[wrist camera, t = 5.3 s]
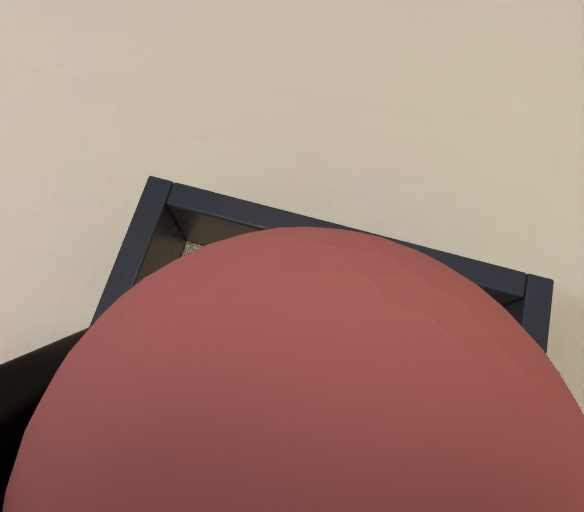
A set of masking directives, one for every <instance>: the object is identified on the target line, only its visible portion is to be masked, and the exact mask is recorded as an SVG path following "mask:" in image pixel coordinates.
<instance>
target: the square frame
mask: <svg viewBox="0 0 584 512" xmlns="http://www.w3.org/2000/svg"><path fill="white" fill-rule="evenodd" d="M284 227H319V228H333V229H343V230H349V231H355V232H360V233H365V234H369V235H374V236H378V237H383V238H385V239H388V240H391V241H393V242H396V243H399V244H401V245H404V246H406V247H409V248H412V249H414V250H417V251H419V252H421V253H424V254H426V255H428V256H430V257H432V258H433V259H435V260H437V261H439V262H441V263H443V264H445V265H446V266H448V267H450V268H451V269H453V270H454V271H456V272H458V273H459V274H461V275H462V276H464V277H466V278H467V279H469V280H470V281H472V282H474V283H475V284H477V285H478V286H479V287H480V288H481V289H483V290H484V291H485V292H486V293H487V294H488V295H490V296H491V297H492V298H493V299H494V300H496V301H497V302H498V303H499V304H500V305H501V306H502V307H503V308H505V309H506V310H507V311H508V312H509V313H510V314H511V315H512V317H513V318H514V319H515V320H516V321H517V322H518V323H519V324H520V325H521V326H522V327H523V329H524V330H525V331H526V332H527V333H528V334H529V335H530V336H531V337H532V338H533V339H534V340H535V342H536V343H537V344H538V345H539V346H540V347H541V348H542V349H543V351H544V352H545V354H546V352H547V342H548V332H549V323H550V313H551V303H552V293H553V283H554V281H553V280H552V279H548V278H544V277H540V276H536V275H533V274H526V273H524V272H520V271H516V270H512V269H508V268H505V267H501V266H497V265H493V264H489V263H485V262H481V261H478V260H474V259H470V258H466V257H462V256H458V255H454V254H450V253H447V252H443V251H439V250H435V249H431V248H427V247H423V246H420V245H416V244H412V243H408V242H404V241H400V240H396V239H392V238H389V237H385V236H381V235H377V234H373V233H369V232H365V231H361V230H358V229H354V228H350V227H346V226H342V225H338V224H334V223H331V222H327V221H323V220H319V219H315V218H311V217H307V216H303V215H300V214H296V213H292V212H288V211H284V210H280V209H276V208H273V207H269V206H265V205H261V204H257V203H253V202H249V201H245V200H242V199H238V198H234V197H230V196H226V195H222V194H218V193H214V192H211V191H207V190H203V189H199V188H195V187H191V186H187V185H184V184H180V183H173V182H172V181H169V180H165V179H161V178H157V177H153V176H149V178H148V180H147V183H146V185H145V188H144V190H143V193H142V195H141V198H140V200H139V203H138V206H137V208H136V211H135V213H134V216H133V218H132V221H131V223H130V226H129V228H128V231H127V233H126V236H125V238H124V241H123V243H122V246H121V248H120V251H119V253H118V256H117V259H116V261H115V264H114V266H113V269H112V271H111V274H110V276H109V279H108V281H107V284H106V286H105V289H104V291H103V294H102V296H101V299H100V301H99V304H98V306H97V309H96V312H95V314H94V317H93V319H92V322H91V324H90V327H91V326H92V325H93V324H94V323H95V322H96V320H97V319H98V318H99V317H100V316H101V315H102V314H103V313H104V312H105V311H106V310H107V309H108V308H109V307H110V306H111V305H112V304H113V303H114V302H115V301H116V300H118V299H119V298H120V297H121V296H122V295H123V294H125V293H126V292H127V291H128V290H130V289H131V288H132V287H134V286H135V285H136V284H137V283H139V282H140V281H141V280H143V279H144V278H145V277H147V276H149V275H150V274H152V273H154V272H156V271H157V270H159V269H161V268H162V267H164V266H166V265H168V264H169V263H171V262H173V261H175V260H176V259H178V258H180V256H181V254H182V251H183V248H184V245H185V242H186V240H188V241H190V242H194V243H198V244H201V245H208V244H211V243H215V242H218V241H221V240H225V239H228V238H232V237H235V236H239V235H242V234H246V233H250V232H256V231H262V230H268V229H274V228H284Z"/></svg>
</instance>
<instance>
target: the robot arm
mask: <svg viewBox="0 0 584 512" xmlns="http://www.w3.org/2000/svg"><path fill="white" fill-rule="evenodd" d="M89 329H90V327H89V328H87V329H84V330H82V331H80V332H77V333H75V334H72V335H70V336H68V337H65V338H63V339H61V340H58V341H56V342H53V343H51V344H49V345H46V346H44V347H42V348H39V349H37V350H34V351H32V352H30V353H27V354H25V355H23V356H20V357H18V358H15V359H13V360H11V361H8V362H6V363H4V364H1V365H0V512H2V510H3V504H4V498H5V492H6V489H7V486H8V483H9V479H10V476H11V473H12V470H13V467H14V464H15V460H16V457H17V454H18V451H19V448H20V445H21V441H22V438H23V435H24V432H25V430H26V428H27V426H28V424H29V422H30V420H31V418H32V416H33V414H34V412H35V410H36V408H37V406H38V404H39V402H40V400H41V399H42V397H43V395H44V393H45V391H46V390H47V388H48V386H49V384H50V382H51V381H52V379H53V377H54V375H55V373H56V372H57V370H58V369H59V367H60V365H61V364H62V362H63V361H64V359H65V358H66V356H67V354H68V353H69V352H70V351H71V349H72V348H73V347H74V346H75V345H76V344H77V342H78V341H79V340H80V339H81V338H82V337H83V336H84V334H85V333H86V332H87V331H88V330H89Z"/></svg>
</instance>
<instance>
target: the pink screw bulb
mask: <svg viewBox="0 0 584 512" xmlns="http://www.w3.org/2000/svg"><path fill="white" fill-rule="evenodd" d="M2 512H584V416H583V413H582V411H581V409H580V407H579V406H578V404H577V402H576V401H575V399H574V397H573V396H572V394H571V392H570V391H569V389H568V387H567V386H566V384H565V382H564V380H563V379H562V377H561V375H560V374H559V372H558V371H557V369H556V368H555V367H554V365H553V364H552V362H551V361H550V359H549V358H548V356H547V355H546V354H545V352H544V351H543V349H542V348H541V347H540V346H539V345H538V344H537V343H536V342H535V340H534V339H533V338H532V337H531V336H530V335H529V334H528V333H527V332H526V331H525V330H524V329H523V327H522V326H521V325H520V324H519V323H518V322H517V321H516V320H515V319H514V318H513V317H512V315H511V314H510V313H509V312H508V311H507V310H506V309H505V308H503V307H502V306H501V305H500V304H499V303H498V302H497V301H496V300H494V299H493V298H492V297H491V296H490V295H488V294H487V293H486V292H485V291H484V290H483V289H481V288H480V287H479V286H478V285H477V284H475V283H474V282H472V281H470V280H469V279H467V278H466V277H464V276H462V275H461V274H459V273H458V272H456V271H454V270H453V269H451V268H450V267H448V266H446V265H445V264H443V263H441V262H439V261H437V260H435V259H433V258H432V257H430V256H428V255H426V254H424V253H421V252H419V251H417V250H414V249H412V248H409V247H406V246H404V245H401V244H399V243H396V242H393V241H391V240H388V239H385V238H383V237H378V236H374V235H369V234H365V233H360V232H355V231H349V230H343V229H333V228H319V227H284V228H274V229H268V230H262V231H256V232H250V233H246V234H242V235H239V236H235V237H232V238H228V239H225V240H221V241H218V242H215V243H211V244H208V245H205V246H203V247H201V248H199V249H197V250H195V251H193V252H191V253H189V254H187V255H185V256H183V257H180V258H178V259H176V260H175V261H173V262H171V263H169V264H168V265H166V266H164V267H162V268H161V269H159V270H157V271H156V272H154V273H152V274H150V275H149V276H147V277H145V278H144V279H143V280H141V281H140V282H139V283H137V284H136V285H135V286H134V287H132V288H131V289H130V290H128V291H127V292H126V293H125V294H123V295H122V296H121V297H120V298H119V299H118V300H116V301H115V302H114V303H113V304H112V305H111V306H110V307H109V308H108V309H107V310H106V311H105V312H104V313H103V314H102V315H101V316H100V317H99V318H98V319H97V320H96V322H95V323H94V324H93V325H92V326H91V327H90V329H89V330H88V331H87V332H86V333H85V334H84V336H83V337H82V338H81V339H80V340H79V341H78V342H77V344H76V345H75V346H74V347H73V348H72V349H71V351H70V352H69V353H68V354H67V356H66V358H65V359H64V361H63V362H62V364H61V365H60V367H59V369H58V370H57V372H56V373H55V375H54V377H53V379H52V381H51V382H50V384H49V386H48V388H47V390H46V391H45V393H44V395H43V397H42V399H41V400H40V402H39V404H38V406H37V408H36V410H35V412H34V414H33V416H32V418H31V420H30V422H29V424H28V426H27V428H26V430H25V432H24V435H23V438H22V441H21V445H20V448H19V451H18V454H17V457H16V460H15V464H14V467H13V470H12V473H11V476H10V479H9V483H8V486H7V489H6V492H5V498H4V504H3V510H2Z"/></svg>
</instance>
